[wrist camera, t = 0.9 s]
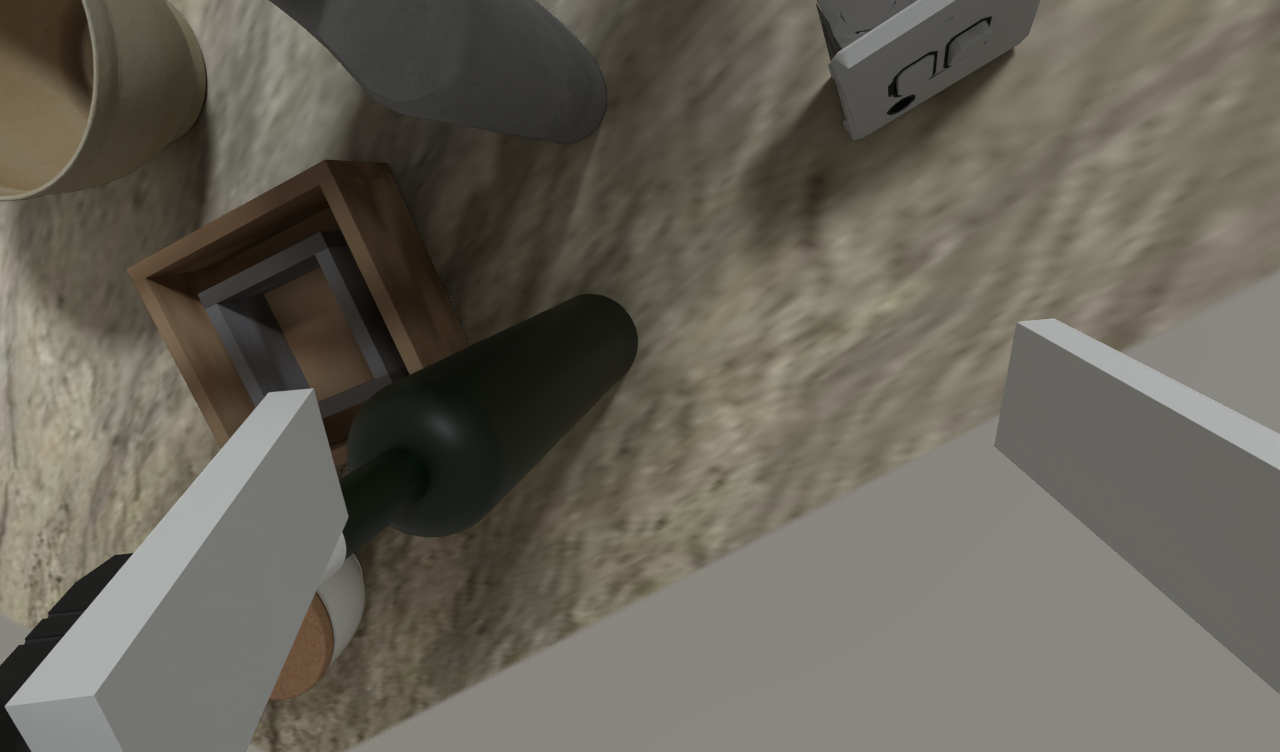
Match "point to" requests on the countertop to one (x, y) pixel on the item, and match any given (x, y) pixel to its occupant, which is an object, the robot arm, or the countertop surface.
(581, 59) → the flask
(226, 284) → the crate
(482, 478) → the wine bottle
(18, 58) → the planter bowl
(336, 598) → the lidded jar
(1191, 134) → the countertop surface
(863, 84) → the electrical switch
